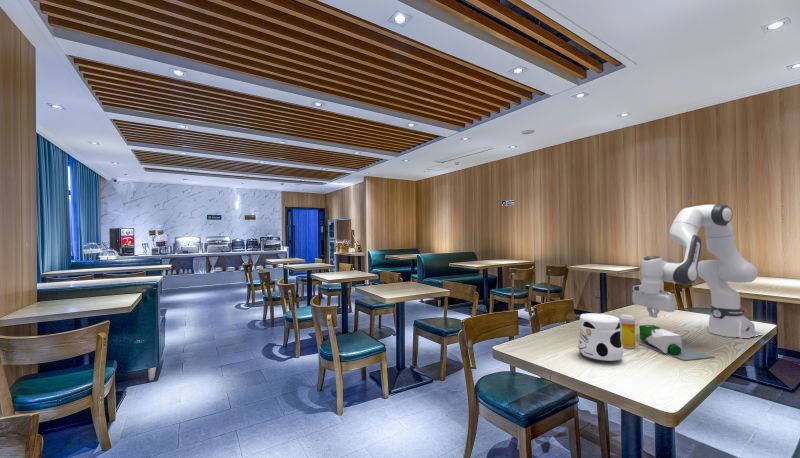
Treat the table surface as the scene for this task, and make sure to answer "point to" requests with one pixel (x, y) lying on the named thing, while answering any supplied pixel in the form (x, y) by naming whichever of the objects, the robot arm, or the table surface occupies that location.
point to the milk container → (600, 337)
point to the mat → (685, 355)
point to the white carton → (661, 339)
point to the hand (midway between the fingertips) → (653, 317)
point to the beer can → (627, 331)
